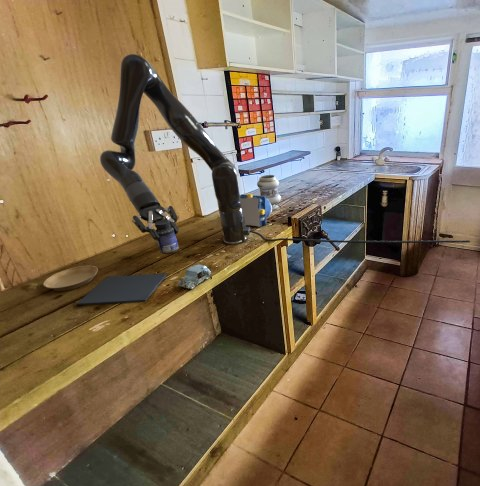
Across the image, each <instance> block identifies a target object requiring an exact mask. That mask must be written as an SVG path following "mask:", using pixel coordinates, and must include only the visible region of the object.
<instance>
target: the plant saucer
mask: <svg viewBox="0 0 480 486" xmlns="http://www.w3.org/2000/svg"><path fill="white" fill-rule="evenodd" d="M98 271H99V268H98V267H97V266H95V265H82V266H81V265H80V266H74V267H71V268H67V269H64V270H61V271H59V272H56V273H54V274H52V275H51V276H48V278H46V279H44V281H43V283H42V284H43V287H45V288H47V289H50V290H54V291H59V292H65V291H70V290H76V289H78V288H81V287H83V286H86V285H88V283H90V282H91V281H93V279H94V278H95V277H96V275H97V273H98Z"/></svg>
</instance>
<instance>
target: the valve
mask: <svg viewBox="0 0 480 486" xmlns="http://www.w3.org/2000/svg"><path fill="white" fill-rule="evenodd" d="M240 198H241V206H242V213H243V217H244V218H245V225H246V226H250V227H251V226H253V227H258V228H261V227H263V226H267V218H269V217H270V216H271V215H272V212H273V211H272V205H271V204H270V202H269V201H268V199H267V198H266V197H265V196H261V195H255V194H254V195H253V193H246V194H240Z"/></svg>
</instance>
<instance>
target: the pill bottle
mask: <svg viewBox="0 0 480 486" xmlns="http://www.w3.org/2000/svg"><path fill="white" fill-rule="evenodd" d="M154 227H155V228H156V229H155V231H156V232H157V234H158V235H159V237H160V239H159V240H158V241H156V243H157V246H158V249H159V252H160V254H162V255H171V254H172V255H173V254H174V253H177V252H178V251H179V249H180V247H179V243H178V239H177V235H176V234H175V232H174V228H173V227H170V221H168V220H162V221H158V222H156V223H154Z"/></svg>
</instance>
